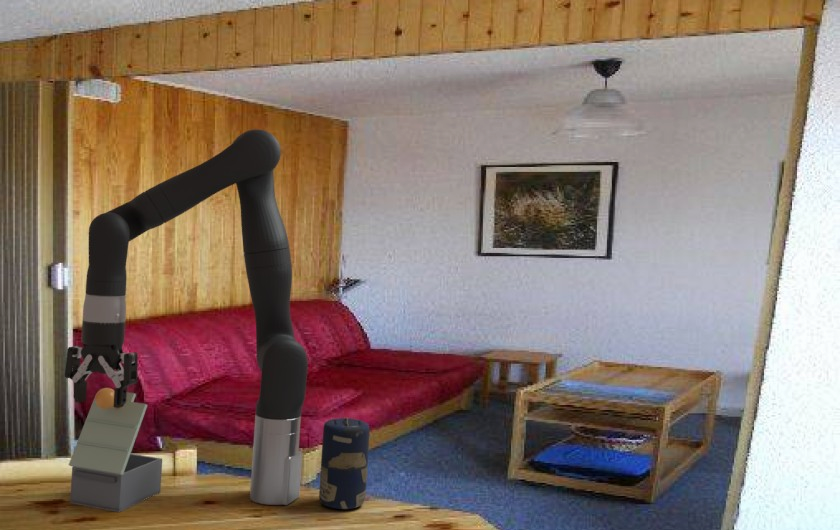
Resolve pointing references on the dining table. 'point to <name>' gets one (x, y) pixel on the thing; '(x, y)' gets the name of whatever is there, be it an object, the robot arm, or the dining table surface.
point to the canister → (344, 463)
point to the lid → (108, 433)
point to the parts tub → (117, 484)
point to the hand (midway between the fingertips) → (99, 404)
